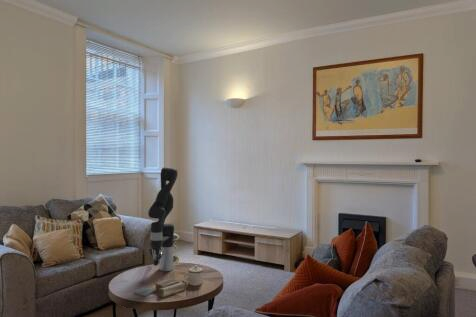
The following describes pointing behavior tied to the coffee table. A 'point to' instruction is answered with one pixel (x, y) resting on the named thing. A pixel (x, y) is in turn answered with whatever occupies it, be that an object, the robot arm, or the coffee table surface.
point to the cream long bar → (172, 289)
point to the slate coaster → (144, 292)
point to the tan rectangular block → (165, 283)
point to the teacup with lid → (195, 276)
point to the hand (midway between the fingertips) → (155, 265)
